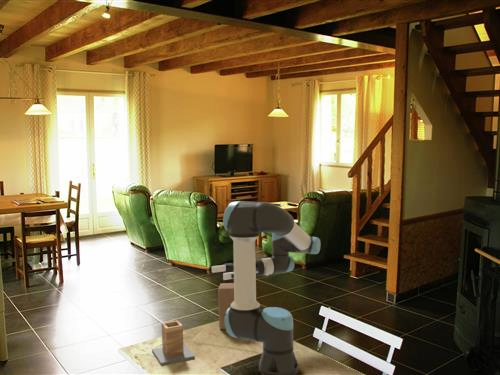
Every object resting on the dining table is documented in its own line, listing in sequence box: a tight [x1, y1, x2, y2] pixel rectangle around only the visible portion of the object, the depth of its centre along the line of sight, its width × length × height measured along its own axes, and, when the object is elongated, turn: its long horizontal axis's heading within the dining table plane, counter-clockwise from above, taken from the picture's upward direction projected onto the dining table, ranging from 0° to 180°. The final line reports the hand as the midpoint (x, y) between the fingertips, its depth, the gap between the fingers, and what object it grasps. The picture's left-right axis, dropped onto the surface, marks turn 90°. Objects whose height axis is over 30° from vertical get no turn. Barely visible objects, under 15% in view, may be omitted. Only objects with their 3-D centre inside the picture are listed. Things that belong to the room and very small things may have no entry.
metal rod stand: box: [151, 342, 196, 366], centre depth 201 cm, size 15×14×11 cm
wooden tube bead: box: [161, 320, 184, 357], centre depth 201 cm, size 7×7×12 cm
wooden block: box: [217, 282, 234, 330], centre depth 232 cm, size 10×10×20 cm
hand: (217, 273), depth 207 cm, fingers open, 13 cm apart
